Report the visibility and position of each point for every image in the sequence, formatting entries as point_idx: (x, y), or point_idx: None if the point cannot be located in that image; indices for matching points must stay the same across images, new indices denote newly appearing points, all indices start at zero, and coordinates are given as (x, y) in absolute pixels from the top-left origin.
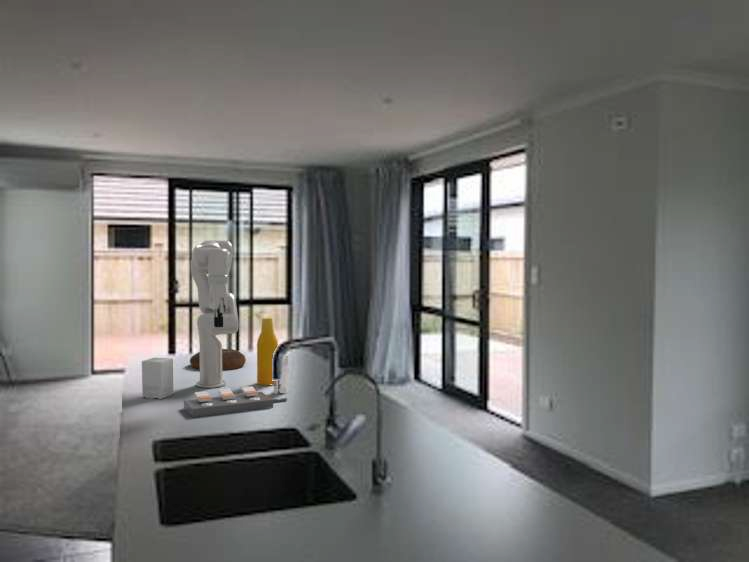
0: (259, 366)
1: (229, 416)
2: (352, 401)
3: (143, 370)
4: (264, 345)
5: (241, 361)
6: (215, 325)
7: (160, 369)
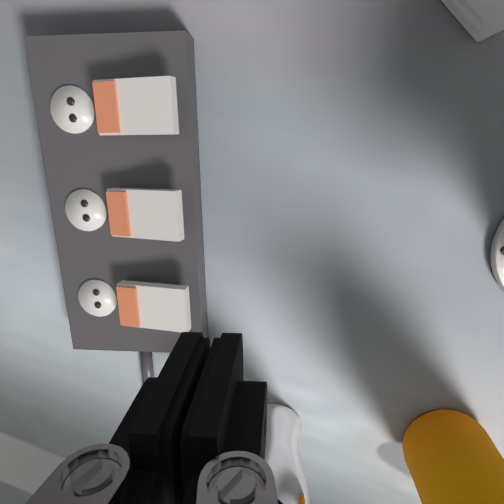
0: (463, 467)
1: (20, 174)
2: None
3: None
4: None
5: None
6: (179, 346)
7: None
